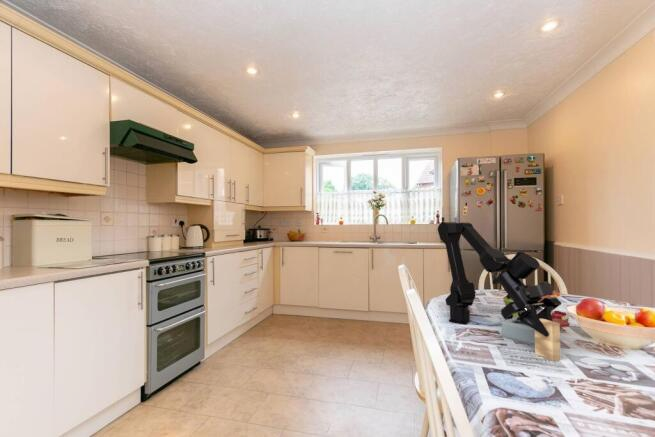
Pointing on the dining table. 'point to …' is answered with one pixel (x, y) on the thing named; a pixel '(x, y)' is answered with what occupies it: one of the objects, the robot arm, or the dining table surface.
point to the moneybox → (518, 331)
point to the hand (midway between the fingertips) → (552, 335)
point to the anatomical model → (558, 312)
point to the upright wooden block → (548, 341)
